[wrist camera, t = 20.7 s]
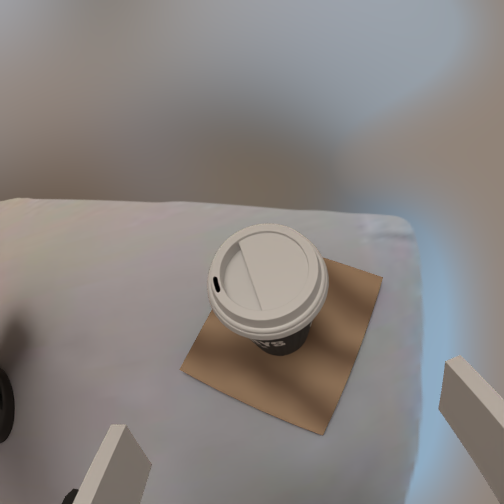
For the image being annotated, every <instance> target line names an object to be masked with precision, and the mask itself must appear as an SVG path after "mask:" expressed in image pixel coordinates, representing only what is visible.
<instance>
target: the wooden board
mask: <svg viewBox="0 0 504 504" xmlns="http://www.w3.org/2000/svg"><path fill="white" fill-rule="evenodd" d="M323 259H324V262H325V264H326V267H327V271H328V277H329V287H328V293H327V297H326V300H325V302H324V304H323V306H322V308H321V310H320V311H319V313H318V314H317V316H316V317H315V318H314V319H313V321H312V324H311V327H310V330H309V333H308V336H307V339H306V341H305V342H304V344H303V345H302V346H301V347H300V348H299V349H298V350H297V351H295V352H293V353H291V354H288V355H284V356H275V355H271V354H268V353H266V352H265V351H263V350H262V349H260V348H259V347H258V346H257V345H256V344H255V343H254V342H252V341H251V340H250V339H249V338H246V337H243V336H241V335H238V334H236V333H234V332H233V331H231V330H230V329H228V328H227V327H226V326H225V325H223V324H222V323H221V321H220V320H219V319H218V318H217V316H216V315H215V313H214V312H213V310H212V311H211V312H210V314H209V316H208V318H207V320H206V322H205V323H204V325H203V327H202V329H201V331H200V333H199V334H198V336H197V338H196V340H195V342H194V344H193V346H192V347H191V349H190V351H189V353H188V355H187V357H186V358H185V360H184V362H183V364H182V366H181V368H180V370H181V371H183V372H185V373H187V374H188V375H190V376H192V377H194V378H196V379H198V380H200V381H201V382H203V383H205V384H207V385H209V386H211V387H213V388H215V389H217V390H219V391H221V392H223V393H225V394H227V395H229V396H231V397H233V398H235V399H237V400H239V401H241V402H244V403H246V404H248V405H250V406H252V407H254V408H257V409H259V410H261V411H263V412H266V413H268V414H270V415H272V416H275V417H277V418H279V419H282V420H284V421H287V422H289V423H292V424H294V425H297V426H299V427H302V428H304V429H307V430H309V431H312V432H315V433H317V434H320V435H323V434H324V432H325V429H326V427H327V425H328V423H329V421H330V419H331V417H332V414H333V412H334V410H335V408H336V405H337V403H338V401H339V399H340V396H341V394H342V392H343V389H344V387H345V384H346V382H347V379H348V377H349V375H350V372H351V370H352V367H353V364H354V362H355V359H356V357H357V354H358V351H359V349H360V346H361V343H362V340H363V338H364V335H365V332H366V329H367V326H368V323H369V320H370V317H371V314H372V311H373V308H374V305H375V302H376V299H377V295H378V292H379V289H380V286H381V282H382V279H383V277H380V276H377V275H374V274H371V273H368V272H365V271H362V270H359V269H356V268H353V267H350V266H347V265H344V264H341V263H338V262H335V261H332V260H329V259H326V258H323Z"/></svg>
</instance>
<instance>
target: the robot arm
mask: <svg viewBox="0 0 504 504" xmlns="http://www.w3.org/2000/svg"><path fill="white" fill-rule="evenodd" d="M439 410H440V412H441V413H442V415H443V416H444V417H445V419H446V421H447V422H448V423H449V425H450V426H451V428H452V429H453V430H454V432H455V434H456V435H457V437H458V438H459V440H460V441H461V443H462V444H463V446H464V447H465V448H466V450H467V452H468V453H469V455H470V456H471V458H472V459H473V461H474V462H475V464H476V466H477V467H478V469H479V470H480V472H481V473H482V475H483V477H484V478H485V480H486V481H487V483H488V485H489V486H490V488H491V489H492V491H493V493H494V494H495V496H496V498H497V499H498V501H499V503H500V504H504V399H503V398H502V397H501V396H500V395H499V394H498V393H497V392H496V391H495V390H494V389H493V388H492V387H491V386H490V385H489V384H488V383H487V382H486V381H485V380H484V379H483V378H482V376H481V375H479V373H478V372H477V371H476V370H475V369H474V368H473V367H471V365H470V364H468V363H467V361H466V360H465V359H464V358H463V357H462V356H460V355H459V356H457V357H455V358H452V359H450V360H447V361H445V369H444V377H443V384H442V391H441V397H440V403H439ZM13 418H14V399H13V393H12V388H11V385H10V382H9V379H8V377H7V376H6V374H5V372H4V371H3V370H2V369H1V368H0V443H1V442H3V441H4V440H5V439H6V438H7V437H8V435H9V433H10V431H11V428H12V424H13ZM151 466H152V464H151V462H150V461H149V459H148V458H147V457H146V455H145V454H144V452H143V451H142V449H141V448H140V446H139V445H138V443H137V441H136V440H135V438H134V437H133V435H132V434H131V432H130V430H129V429H128V427H127V426H126V425H111V426H110V428H109V430H108V432H107V434H106V436H105V438H104V440H103V442H102V444H101V446H100V448H99V450H98V452H97V454H96V456H95V458H94V460H93V462H92V464H91V466H90V468H89V470H88V472H87V474H86V476H85V478H84V480H83V483H82V485H81V487H80V489H79V490H78V489H73V490H72V491H71V492H70V493H68V494H67V495H66V496H65V498H64V500H63V502H62V504H140V502H141V498H142V495H143V492H144V489H145V485H146V482H147V479H148V476H149V472H150V469H151Z"/></svg>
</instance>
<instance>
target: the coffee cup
mask: <svg viewBox="0 0 504 504" xmlns="http://www.w3.org/2000/svg"><path fill="white" fill-rule="evenodd" d="M328 287H329V277H328V271H327V267H326V264H325V262H324V259H323V257H322V256H321V254H320V252H319V251H318V249H317V248H316V247H315V246H314V245H313V244H312V243H311V242H310V241H309V240H308V239H307V238H306V237H304V236H303V235H301V234H300V233H299V232H297V231H295V230H294V229H291V228H289V227H286V226H283V225H279V224H258V225H253V226H250V227H247V228H244V229H242V230H240V231H238V232H236V233H235V234H233V235H232V236H231V237H229V238H228V239H227V240H226V241H225V242H224V243H223V244H222V245H221V247H220V248H219V250H218V251H217V253H216V255H215V257H214V259H213V262H212V264H211V267H210V270H209V274H208V280H207V290H208V298H209V302H210V305H211V307H212V310H213V312H214V313H215V315H216V316H217V318H218V319H219V320H220V321H221V323H222V324H223V325H225V326H226V327H227V328H228V329H230V330H231V331H233V332H234V333H236V334H238V335H241V336H243V337H246V338H249V339H250V340H251V341H252V342H254V343H255V344H256V345H257V346H258V347H259V348H260V349H262V350H263V351H265V352H266V353H268V354H271V355H275V356H284V355H288V354H291V353H293V352H295V351H297V350H298V349H299V348H300V347H301V346H302V345H303V344H304V342H305V341H306V339H307V336H308V333H309V330H310V327H311V324H312V321H313V319H314V318H315V317H316V316H317V314H318V313H319V311H320V310H321V308H322V306H323V304H324V302H325V300H326V297H327V293H328Z"/></svg>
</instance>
